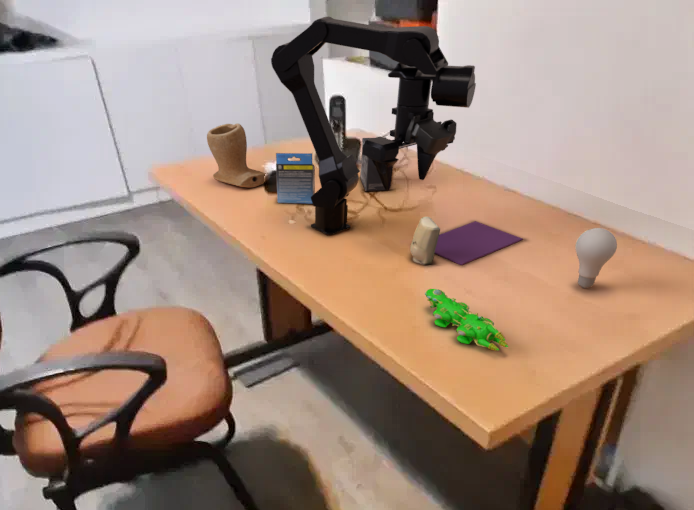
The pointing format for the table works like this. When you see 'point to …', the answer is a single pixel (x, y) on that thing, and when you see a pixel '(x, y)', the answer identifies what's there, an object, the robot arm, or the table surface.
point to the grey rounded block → (425, 241)
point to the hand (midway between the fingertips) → (404, 184)
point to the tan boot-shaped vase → (232, 156)
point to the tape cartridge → (295, 178)
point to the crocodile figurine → (464, 321)
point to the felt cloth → (472, 242)
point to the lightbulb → (593, 254)
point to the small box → (370, 173)
